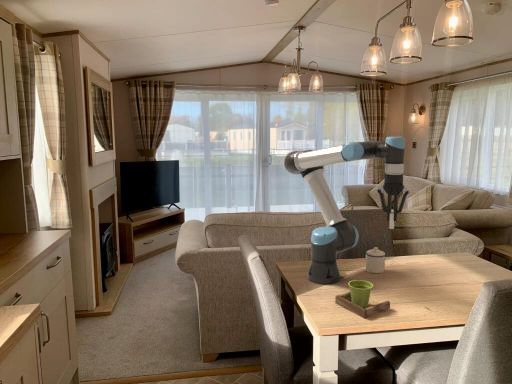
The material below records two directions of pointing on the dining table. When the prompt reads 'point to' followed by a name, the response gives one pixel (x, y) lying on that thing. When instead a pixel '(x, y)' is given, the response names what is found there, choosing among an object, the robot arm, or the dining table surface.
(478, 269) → the dining table surface
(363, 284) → the plant pot
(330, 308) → the dining table surface
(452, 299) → the dining table surface
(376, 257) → the teacup with lid
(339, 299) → the walnut bay
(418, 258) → the dining table surface
